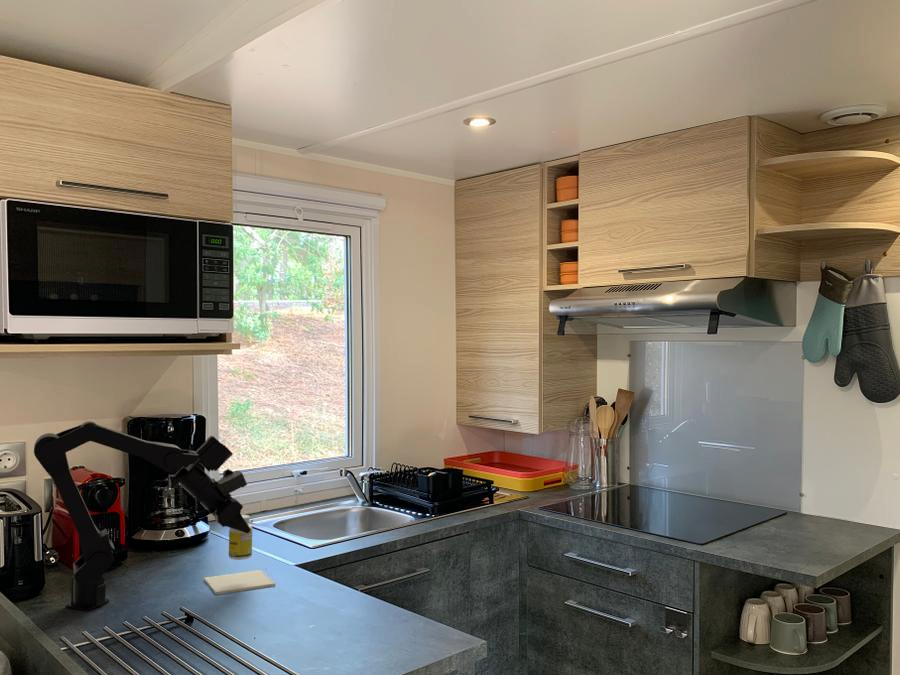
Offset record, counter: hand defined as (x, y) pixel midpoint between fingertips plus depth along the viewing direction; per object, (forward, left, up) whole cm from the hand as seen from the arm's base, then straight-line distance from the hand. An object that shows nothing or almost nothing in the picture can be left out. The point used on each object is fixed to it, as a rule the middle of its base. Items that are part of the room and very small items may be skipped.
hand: (246, 528), depth 184 cm
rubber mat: (-2, 0, -13) cm, 13 cm away
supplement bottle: (-1, -1, -7) cm, 7 cm away
